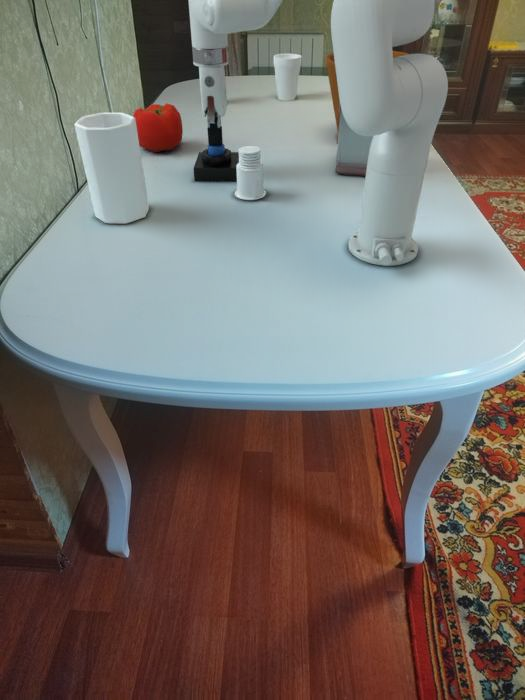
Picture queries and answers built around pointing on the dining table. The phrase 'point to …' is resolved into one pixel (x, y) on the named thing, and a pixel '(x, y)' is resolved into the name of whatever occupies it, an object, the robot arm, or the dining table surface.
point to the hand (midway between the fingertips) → (215, 144)
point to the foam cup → (287, 75)
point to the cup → (113, 166)
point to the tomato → (158, 127)
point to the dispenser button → (216, 150)
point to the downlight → (249, 174)
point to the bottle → (351, 149)
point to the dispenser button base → (216, 166)
